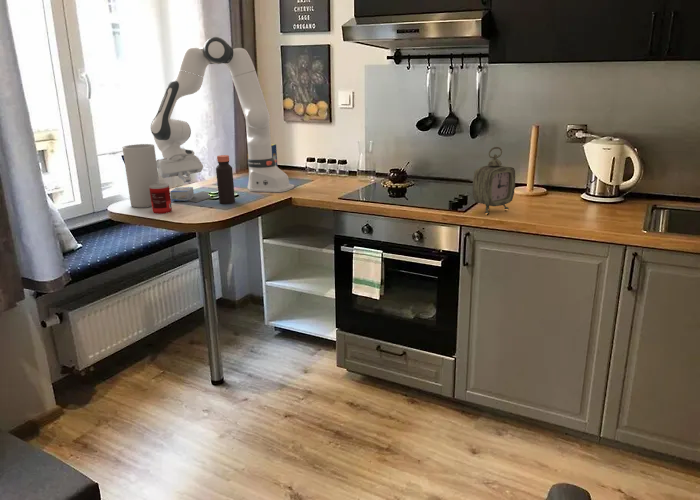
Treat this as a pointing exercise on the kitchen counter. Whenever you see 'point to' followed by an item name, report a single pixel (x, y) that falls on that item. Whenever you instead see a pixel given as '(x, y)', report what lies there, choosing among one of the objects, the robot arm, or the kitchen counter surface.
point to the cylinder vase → (140, 173)
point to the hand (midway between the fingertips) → (187, 181)
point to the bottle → (225, 180)
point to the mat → (200, 196)
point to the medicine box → (182, 194)
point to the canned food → (160, 198)
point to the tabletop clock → (494, 183)
